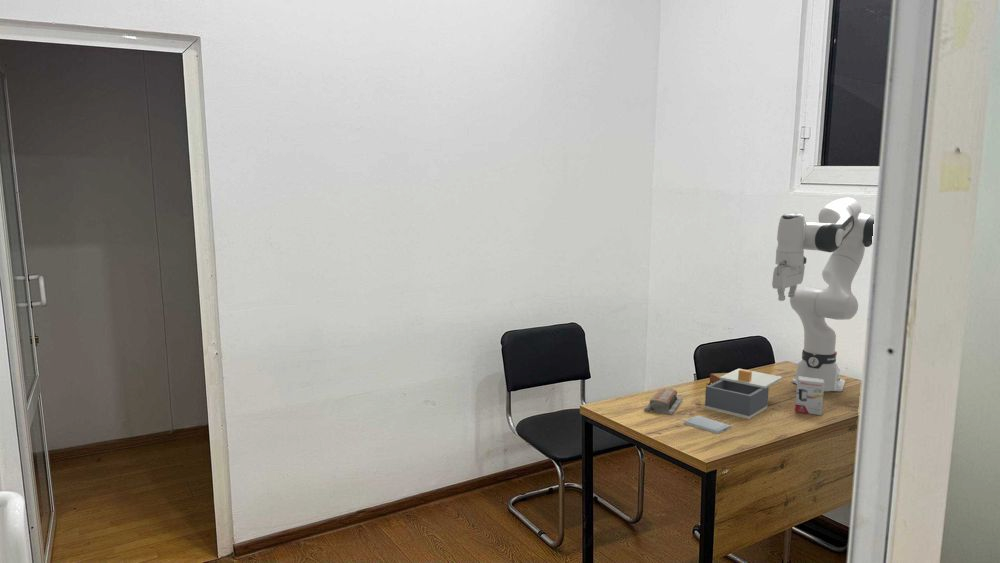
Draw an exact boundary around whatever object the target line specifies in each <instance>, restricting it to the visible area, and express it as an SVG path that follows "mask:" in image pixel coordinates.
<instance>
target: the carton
mask: <svg viewBox="0 0 1000 563" xmlns="http://www.w3.org/2000/svg"><path fill="white" fill-rule="evenodd" d="M728 373H729V372H721V373H719V372H718V373H710V374H709V383H710V384H711V383H714V382H717V381H719V380H721V379H720V377H721V376H723V375H726V374H728Z"/></svg>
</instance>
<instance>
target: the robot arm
mask: <svg viewBox="0 0 1000 563" xmlns="http://www.w3.org/2000/svg"><path fill="white" fill-rule="evenodd" d="M873 224H874V214H867V213H862V206H861V204H860V202H859V201H858V200H856V199H855V198H853V197H842V198H839V199H835V200H833V201H831V202H829V203H828V204H826V205H824V206H823V207H822V209H820V211H819V214H818V222H808V221H806V219H805V216H804V214H802V213H800V212H790V213H788V212H787V213H784V214H782V215H781V216H780V218H779V222H778V226H777V227H778V228H777V235H776V236H777V237H776V240H777V246H776V252H775V265H777V266H775V267H774V270H773V274H772V283H771V285H772V288H773V289H774V290H775V289H777V295H778V301H780V302H784V301H785V300H786V295H785V291H786V289H787V288H789V290H788V295H787V297H788V298H789V304H790V306H791V308H792V310H794V312H795V313H796V314H797V315H798V317H799V319H800V321H801V323H802V326H803V332H804V334H803V335H804V342H803V349H802V352H801V360H800V361H798V362H797V366H796V373H795V378H792V379H791V382H792V383H794V384H796V385H797V380H798V377H799V376H802V377H809V378H817V379H823V380H824V392H843V390H844V387H845V384H846V380H845V379H842V378H840V373H841V372H840V367H839V366H838V365H837V363H836V362H837V355H838V354H837V353H838V352H837V351H835V350H836V340H837V334H836V332H835V330H833V328H831V326H829V325H828V323H827V322H826V319H831V320H837V321H839V320H840V321H841V320H843V321H844V320H850V319H852V318H854V317H855V315H856V314H857V312H858V310H859V309H858V308H859V302H858V300H857V297H856V296H855V295H854V294H853V292H852V284H853V281H854V278H855V276H856V274H857V272H858V270H859V268H860V265H861V264H862V261H863V260H864V255H865V250H866V249H865V248H869V247H871V246H872V245H873V244H872V236H873ZM804 250H807V251H809V250H810V251H819V252H824V253H831V254H830V257H829V258H828V260H827V262H826V264H825V266H824V268H823V269H822V273H821V276H822V279H823V280H824V283H826V284H827V285H828V287H826V288H820V287H812V286H803V287H798V285H801V284H802V283H803V281H804V280H803V279H804V276H805V275H804V274H805V265H806V264H807V257H806V256H805V255H804V253H805V251H804Z"/></svg>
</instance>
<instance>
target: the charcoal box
mask: <svg viewBox="0 0 1000 563" xmlns="http://www.w3.org/2000/svg"><path fill="white" fill-rule="evenodd" d="M769 388H770V386H769V387H767V388H766V389H764V388H759V387H754V386H750V385H745V384H740V383H735V382H731V381H726V380H719V381H717V382H714V383H712V384H711V383H710V384H709V385H707V386H705V399H704V409H705V410H711V411H714V412H719V413H722V414H727V415H731V416H735V417H739V418H742V419H743V418H744V419H747V420H750V419H752V418H754V417H756V416H757V415H758V414H760V413H762V412H763V411H765V410H766V409H768V402H769V390H770V389H769Z"/></svg>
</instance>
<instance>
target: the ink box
mask: <svg viewBox="0 0 1000 563" xmlns="http://www.w3.org/2000/svg"><path fill="white" fill-rule="evenodd" d="M795 392H796V393H795V401H794V411H795V412H796V413H803V414H810V415H817V416H818V415H819V416H822V414H823V405H824V404H823V402H824V392H825V391H824V380H823V379H817V378H809V377H802V376H799V377H798V380H797V384H796V391H795Z"/></svg>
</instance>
